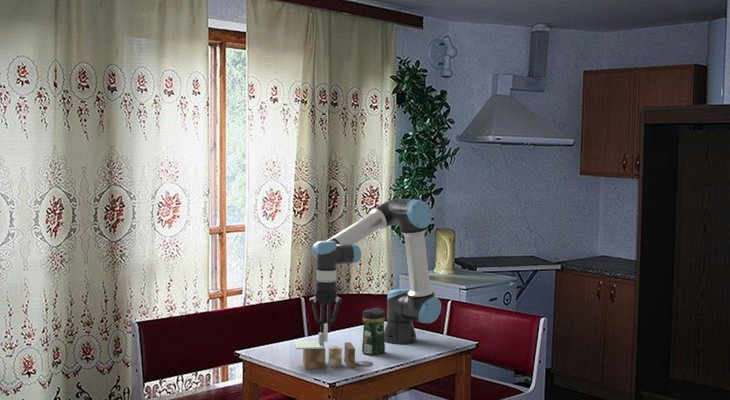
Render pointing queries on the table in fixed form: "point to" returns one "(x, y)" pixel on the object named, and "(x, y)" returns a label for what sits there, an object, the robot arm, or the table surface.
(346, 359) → the brown and beige stand
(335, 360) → the block
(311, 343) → the cover
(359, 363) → the grey round disc
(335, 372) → the table surface
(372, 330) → the coffee jar
